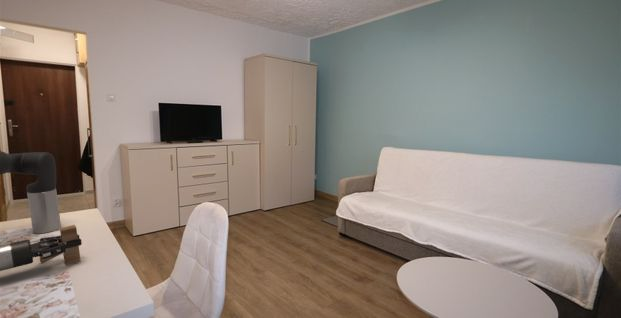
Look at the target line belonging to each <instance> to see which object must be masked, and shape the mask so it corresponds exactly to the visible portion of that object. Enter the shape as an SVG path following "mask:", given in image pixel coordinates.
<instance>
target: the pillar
mask: <svg viewBox="0 0 621 318" xmlns="http://www.w3.org/2000/svg"><path fill="white" fill-rule="evenodd" d="M59 234H60V236H61V241H62V242H67V241H71V240H75V239H78V237H77V235H78V231H77V227H76V225H75V224H72V225H67V226H61V228H59ZM80 253H81V252H80V246H76V247H72V248H68V249H67V250H66V252H64V253H62V254H63V262H64V264H65V266H69V265H70V266H71V265H73V264H77V263H80V262H82V261H81V254H80Z"/></svg>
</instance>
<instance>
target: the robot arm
mask: <svg viewBox="0 0 621 318" xmlns="http://www.w3.org/2000/svg"><path fill="white" fill-rule="evenodd" d="M5 174H21V175H27V176H28V175H29V176H32V175H36V176H37V180H36V181H34V182H32V183H29V184H27V185H26V187H25V188H26V194H27V199H28V200H27V202H28V207H29V214H30V220H31V228H32V233H34V234H47V233H51V232H54V231H57V230H60V228H61V227H62V223H61V215H60V210H59V200H58V193H57V187H56V186H57V180H58V179H57V164H56V160H55V157H54V155H53V154H52V153H50V152H45V151H40V152H39V151H38V152H37V151H36V152H35V151H34V152H32V151H30V152H21V153H7V152H5V151H1V150H0V176H1V175H5ZM77 237H78V239H75V240H71V241H67V242H62V241H61V235H55V236H48V237H41V238H39V241H38V242H35V243H32V244H31V240H30V239H24V240H19V241H14V242H9V243H5V244H1V245H0V272H2V271H7V270H11V269H14V268H18V267H23V266H27V265H29V264H32V263H34V258H40V256H43V259H47V258H50V257H53V256H55V255H57V256H59V255H61V254H63V253H64V252H66V250H67V249H68V248H72V247H76V246H79V247H80V246H81V245H82V244H83V243H82V239H81V238H80V234H77ZM58 254H59V255H58ZM55 257H56V256H55ZM53 258H54V257H53Z"/></svg>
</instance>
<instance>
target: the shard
mask: <svg viewBox="0 0 621 318" xmlns="http://www.w3.org/2000/svg"><path fill="white" fill-rule="evenodd" d="M59 255H60V254H58V255H55V256H53V257H50V258H47V259H43V256H40V257H39V259H40V260H39V262H40V263H41V264H44V263H45V262H48V261H49V260H51V259H53V258H55V257H56V256H59Z"/></svg>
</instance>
